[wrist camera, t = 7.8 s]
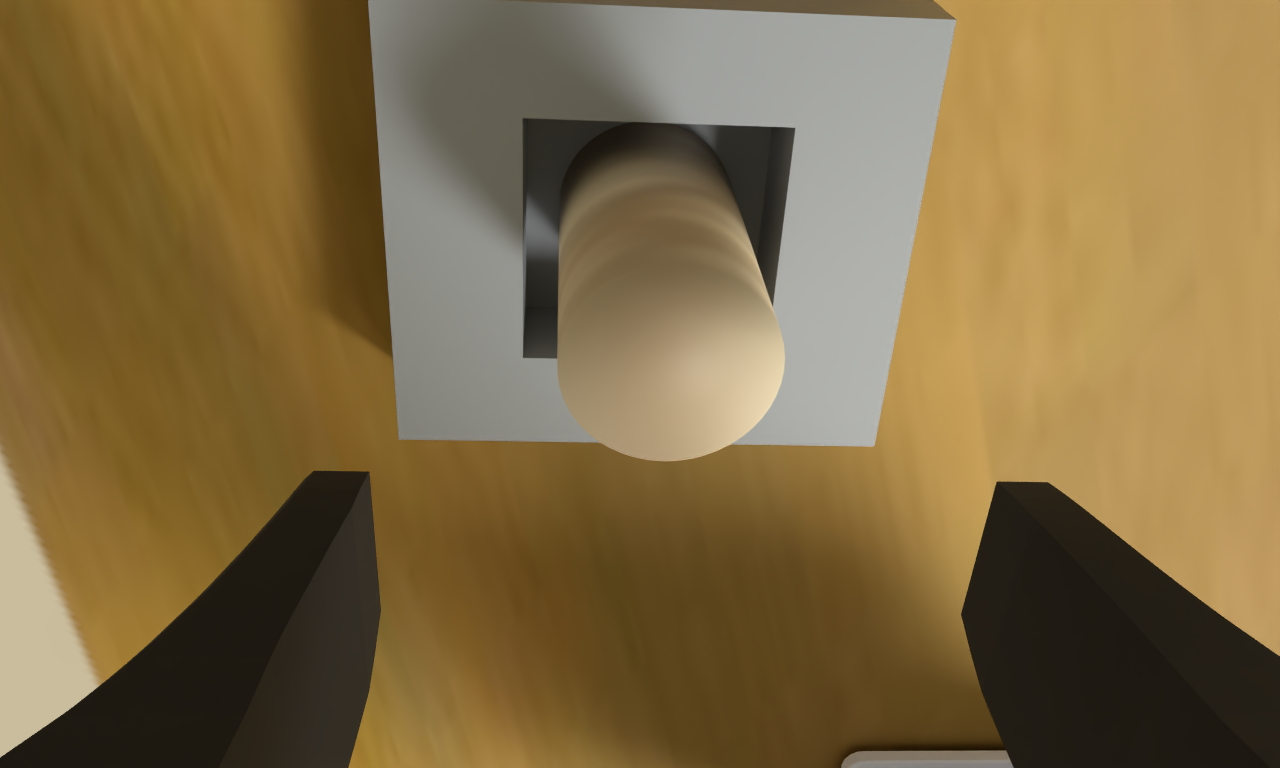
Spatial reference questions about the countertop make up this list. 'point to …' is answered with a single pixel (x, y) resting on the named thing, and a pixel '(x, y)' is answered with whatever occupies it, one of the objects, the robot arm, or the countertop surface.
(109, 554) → the countertop surface
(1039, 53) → the countertop surface
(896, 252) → the hole block
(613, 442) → the maple pin
